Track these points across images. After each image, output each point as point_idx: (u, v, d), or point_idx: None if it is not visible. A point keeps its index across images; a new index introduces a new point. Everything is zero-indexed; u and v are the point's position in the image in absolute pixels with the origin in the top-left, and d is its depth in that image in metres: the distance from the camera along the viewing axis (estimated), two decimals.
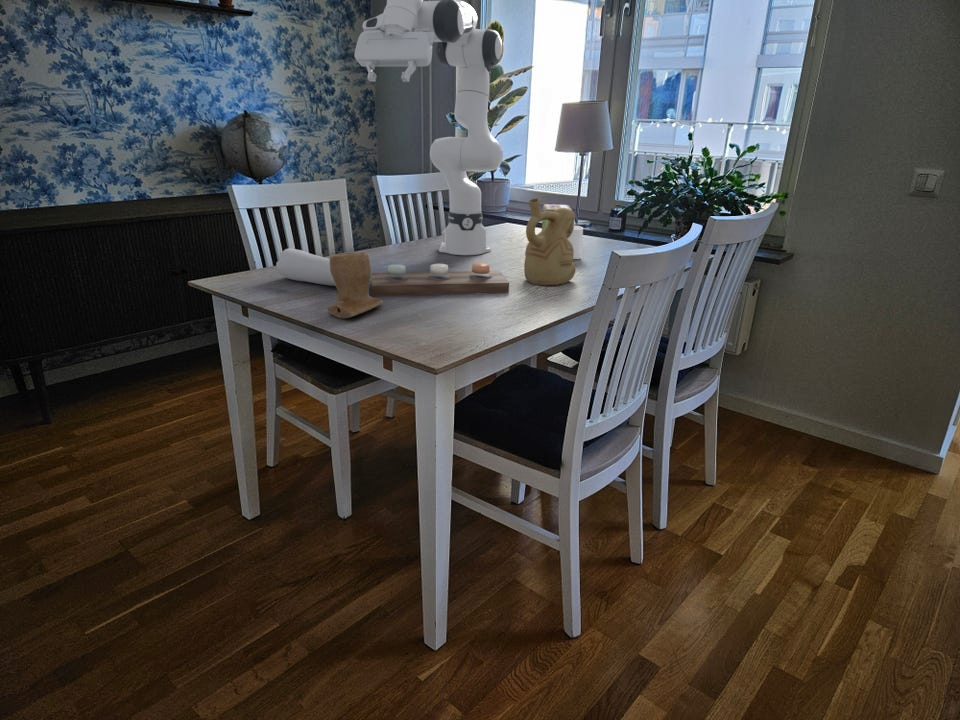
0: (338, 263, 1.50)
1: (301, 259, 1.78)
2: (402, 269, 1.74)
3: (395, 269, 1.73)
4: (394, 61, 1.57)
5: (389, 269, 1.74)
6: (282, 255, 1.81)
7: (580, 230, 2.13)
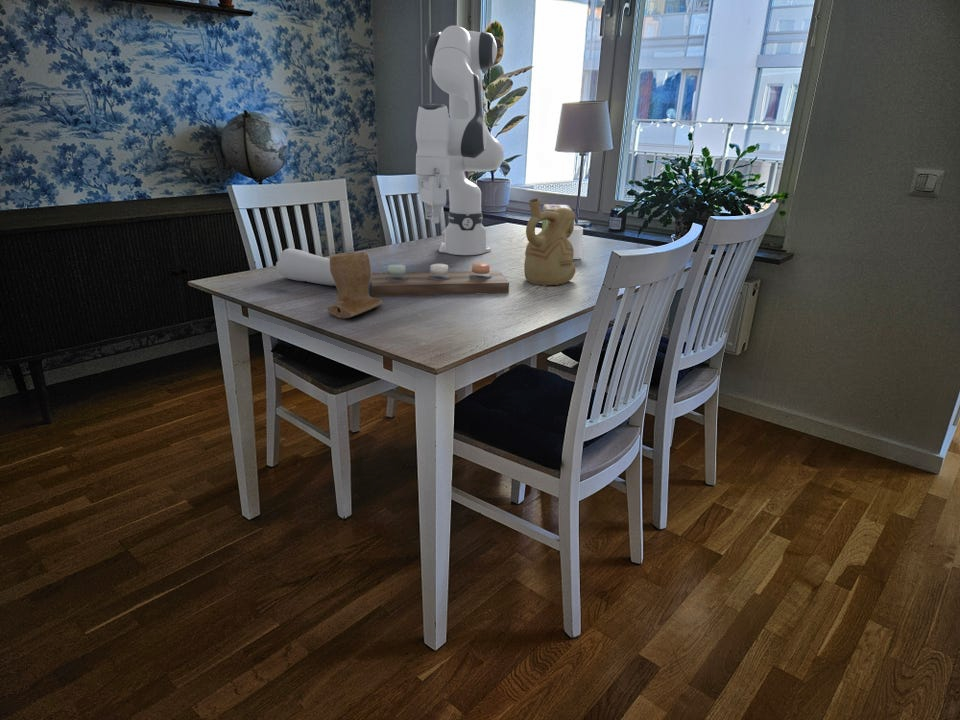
0: (338, 263, 1.50)
1: (301, 259, 1.78)
2: (402, 269, 1.74)
3: (395, 269, 1.73)
4: None
5: (389, 269, 1.74)
6: (282, 255, 1.81)
7: (580, 230, 2.13)
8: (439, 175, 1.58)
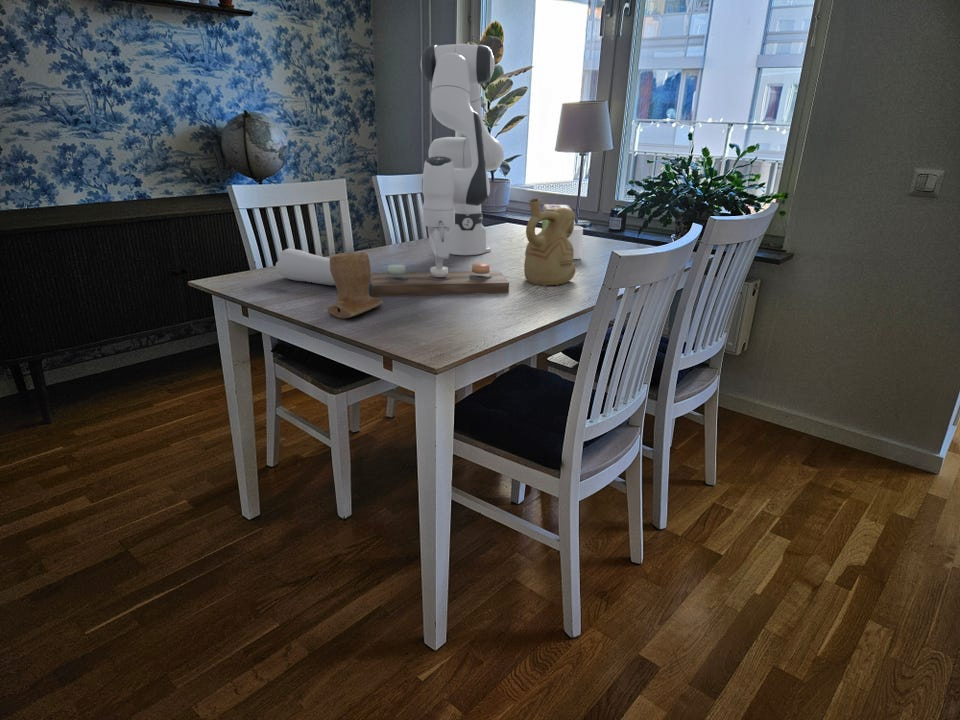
0: (338, 263, 1.50)
1: (301, 259, 1.78)
2: (402, 269, 1.74)
3: (395, 269, 1.73)
4: None
5: (389, 269, 1.74)
6: (282, 255, 1.81)
7: (580, 230, 2.13)
8: (442, 230, 1.64)
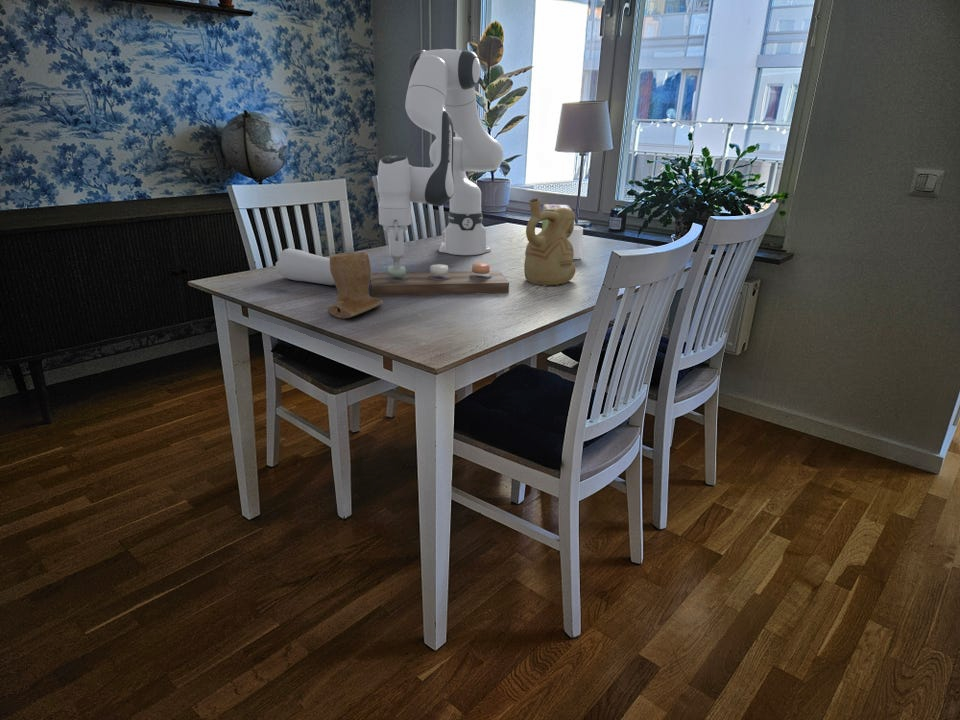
0: (338, 263, 1.50)
1: (301, 259, 1.78)
2: (402, 270, 1.74)
3: (395, 270, 1.74)
4: None
5: (389, 270, 1.74)
6: (282, 255, 1.81)
7: (580, 230, 2.13)
8: (396, 229, 1.62)
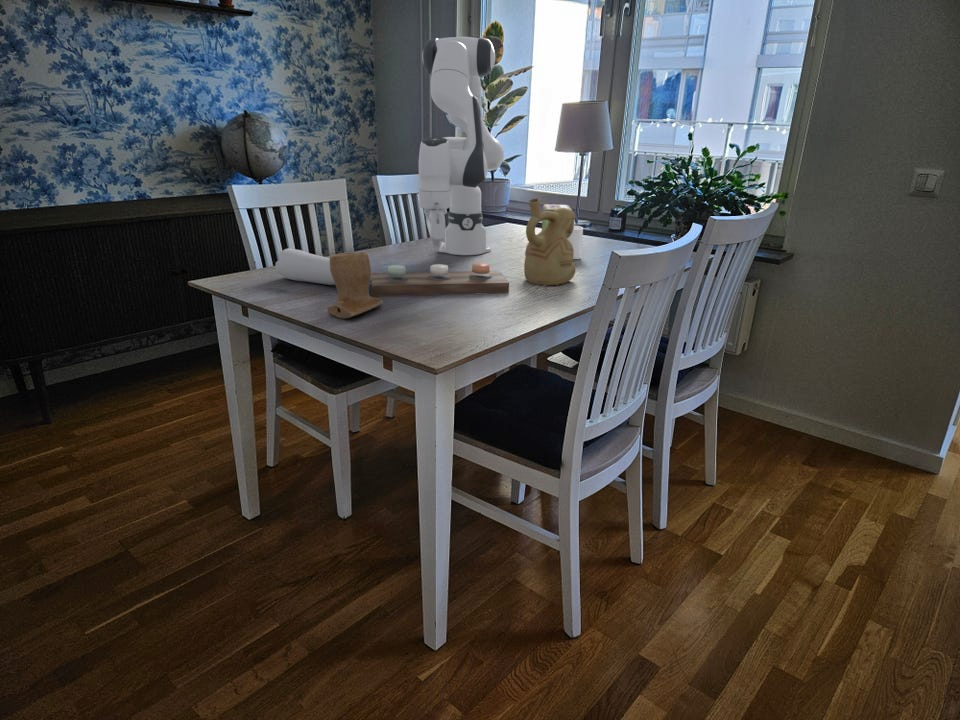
0: (338, 263, 1.50)
1: (301, 259, 1.78)
2: (402, 270, 1.74)
3: (395, 270, 1.73)
4: None
5: (389, 270, 1.74)
6: (282, 255, 1.81)
7: (580, 230, 2.13)
8: (437, 212, 1.62)
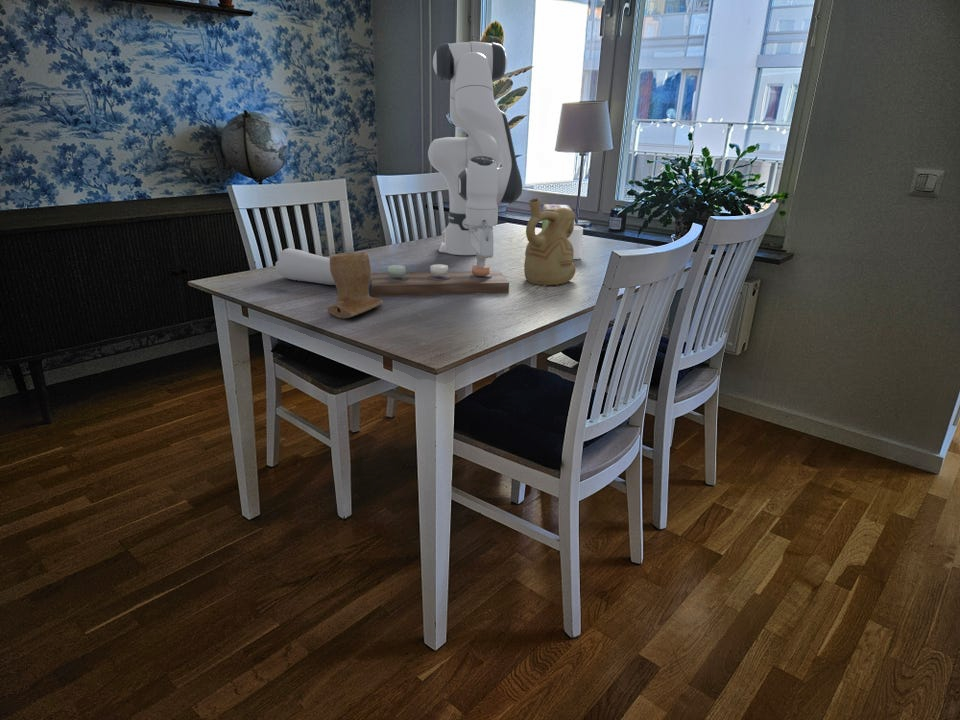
0: (338, 263, 1.50)
1: (301, 259, 1.79)
2: (402, 270, 1.74)
3: (395, 270, 1.73)
4: None
5: (389, 270, 1.74)
6: (282, 255, 1.81)
7: (580, 230, 2.13)
8: (487, 229, 1.65)
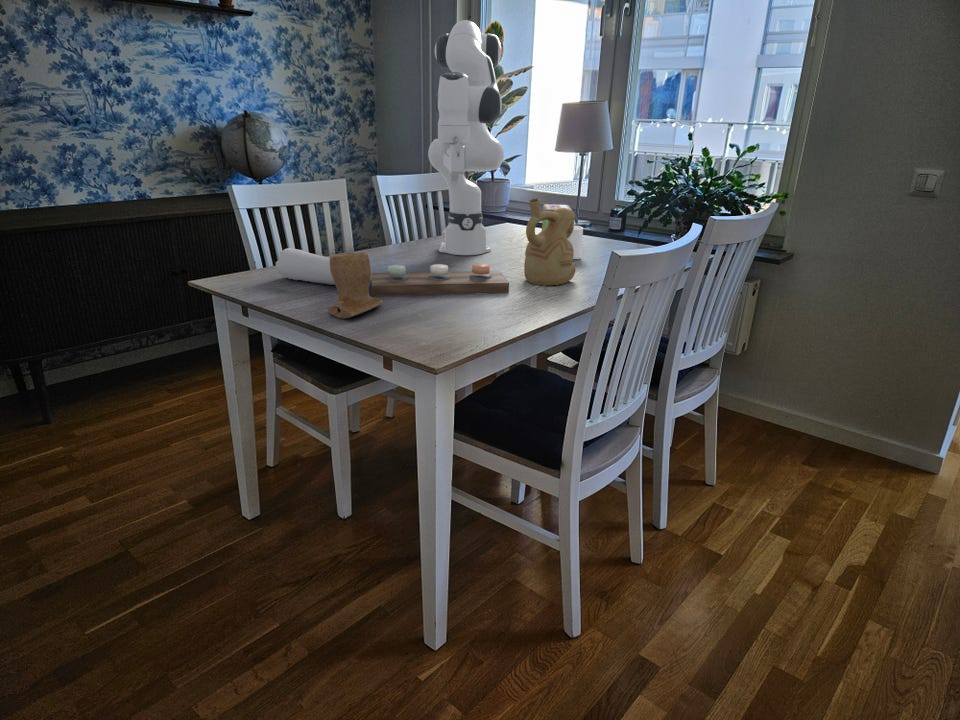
0: (338, 263, 1.50)
1: (301, 259, 1.79)
2: (402, 270, 1.74)
3: (395, 270, 1.73)
4: None
5: (389, 270, 1.74)
6: (282, 255, 1.81)
7: (580, 230, 2.13)
8: (457, 144, 1.67)
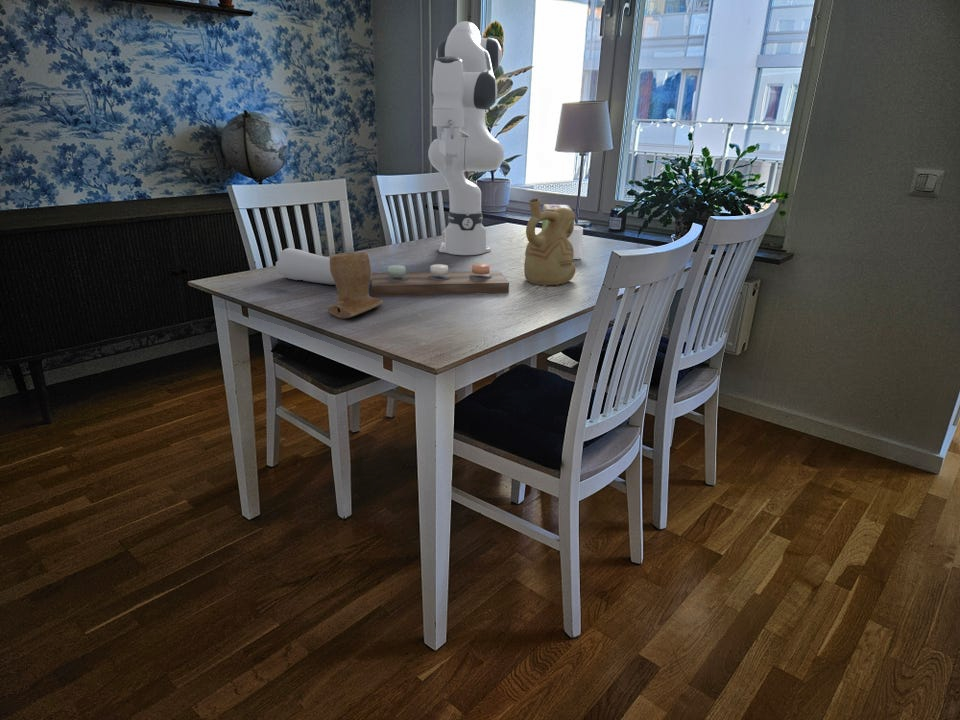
0: (338, 263, 1.50)
1: (301, 259, 1.79)
2: (402, 270, 1.74)
3: (395, 270, 1.73)
4: None
5: (389, 270, 1.74)
6: (282, 255, 1.81)
7: (580, 230, 2.13)
8: (451, 126, 1.67)
